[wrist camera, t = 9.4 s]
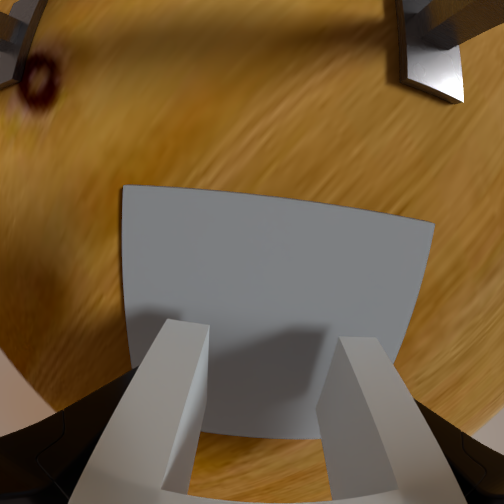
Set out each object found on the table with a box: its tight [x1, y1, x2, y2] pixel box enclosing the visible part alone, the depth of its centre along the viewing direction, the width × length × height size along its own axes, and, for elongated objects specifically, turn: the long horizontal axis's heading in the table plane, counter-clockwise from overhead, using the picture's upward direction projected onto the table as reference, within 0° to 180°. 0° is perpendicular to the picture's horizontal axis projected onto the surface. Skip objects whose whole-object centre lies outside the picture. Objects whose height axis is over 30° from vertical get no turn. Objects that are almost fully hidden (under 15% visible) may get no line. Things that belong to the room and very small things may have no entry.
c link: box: [68, 319, 467, 504], centre depth 5 cm, size 3×6×6 cm, turn 84°
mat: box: [122, 185, 435, 439], centre depth 10 cm, size 10×10×1 cm
